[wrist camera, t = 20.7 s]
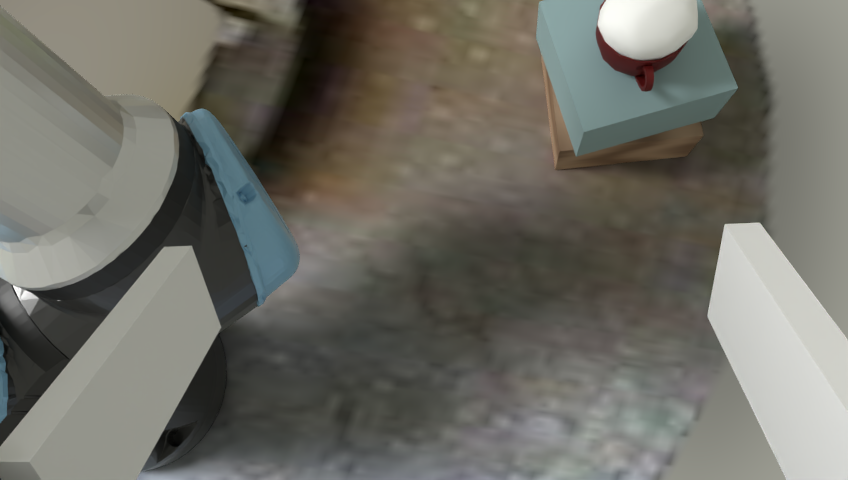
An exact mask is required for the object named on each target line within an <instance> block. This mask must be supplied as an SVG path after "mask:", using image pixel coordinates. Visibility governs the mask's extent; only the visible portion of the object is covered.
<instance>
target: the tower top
mask: <svg viewBox="0 0 848 480" xmlns="http://www.w3.org/2000/svg"><path fill="white" fill-rule="evenodd" d="M603 2H604V0H544V1H540V2H539V10H538V22H537V33H536V39H537V42H538V45H539V48H540V51H541V54H542V57H543V60H544V63H545V66H546V69H547V72H548V75H549V78H550V81H551V83H552V86H553V89H554V92H555V95H556V98H557V101H558V104H559V107H560V110H561V113H562V116H563V119H564V122H565V125H566V128H567V131H568V134H569V137H570V140H571V143H572V146H573V149H574V152H575V155H576V157H577V156H580V155H584V154H587V153H591V152H595V151H598V150H602V149H605V148H609V147H612V146H616V145H619V144H623V143H626V142H630V141H633V140H637V139H640V138H644V137H648V136H651V135H655V134H658V133H662V132H665V131H669V130H672V129H676V128H679V127H683V126H687V125H690V124H694V123H697V122H701V121H704V120H708V119H711V118H715V116H716V115H717V114H718V113H719V111H720V110H721V109H722V108H723V106H724V105H725V104H726V103H727V101H728V100H729V99H730V98H731V96H732V95H733V94H734V93H735V92H736V90H737V89H738V86H737V84H736V81H735V79H734V77H733V74H732V72H731V70H730V67H729V65H728V62H727V60H726V58H725V55H724V53H723V51H722V48H721V46H720V43H719V41H718V39H717V36H716V34H715V32H714V29H713V27H712V24H711V22H710V20H709V17H708V15H707V13H706V10H705V8H704V5H703V3H702V1H701V0H697V9H698V29H697V30H696V32H695V33H694V35H693V36H692V38H690V39H689V40H688V42H687V43H686V45H685V46H684V47H683V49H682V50H681V51H680V53H679V54H678V55H677V57H676V58H675V59H674V60H673V61H672V62H671V63H670V64H668V65H667V66H665V67H663V68H661V69H659V70H658V71H656V72H654V84H653V88H652V90H651V91H647V92H645V91H641V89H640V88H639V86H638V84H637V82H636V79H635V76H630V75H627V74H624V73H621V72H618V71H615V70H614V69H613V68H612V67H611V66H610V65H609V64H608V63H607V62H605V61H604V60H603V58H602V55H601V52H600V50H599V47H598V44H597V40H596V27H597V21H598V15H599V10H600V6H601V4H602V3H603Z"/></svg>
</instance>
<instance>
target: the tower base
mask: <svg viewBox="0 0 848 480" xmlns="http://www.w3.org/2000/svg"><path fill="white" fill-rule="evenodd" d="M541 58H542V66H543V74H544V83H545V91H546V99H547V107H548V115H549V124H550V132H551V140H552V148H553V156H554V165H555V170H560V169H570V168H579V167H589V166H598V165H608V164H618V163H627V162H637V161H646V160H656V159H665V158H675V157H684V156H687V155H688V154H689V153H690V151H691V150H692V149H693V148H694V147H695V145H696V144H697V143H698V142H699V141H700V139H701V138H702V137H703V136H704V135H703V130H702V124H701V122H697V123H694V124H690V125H687V126H683V127H679V128H676V129H672V130H669V131H665V132H662V133H658V134H655V135H651V136H648V137H644V138H640V139H637V140H633V141H630V142H626V143H623V144H619V145H616V146H612V147H609V148H605V149H602V150H598V151H595V152H591V153H587V154H584V155H580V156H577V157H576V155H575V152H574V149H573V146H572V143H571V140H570V137H569V134H568V131H567V128H566V125H565V122H564V119H563V116H562V113H561V110H560V107H559V104H558V101H557V98H556V95H555V92H554V89H553V86H552V83H551V81H550V78H549V75H548V72H547V69H546V66H545V63H544V60H543V57H542V54H541Z"/></svg>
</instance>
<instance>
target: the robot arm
mask: <svg viewBox="0 0 848 480" xmlns="http://www.w3.org/2000/svg"><path fill="white" fill-rule="evenodd" d="M299 259H300V254H299V249H298V246H297V243H296V241H295V239H294V238H293V236H292V234H291V232H290V230H289V228H288V227H287V225H286V223H285V222H284V220H283V218H282V217H281V215H280V213H279V212H278V210H277V208H276V207H275V205H274V203H273V202H272V200H271V199H270V197H269V195H268V194H267V192H266V191H265V189H264V187H263V186H262V184H261V183H260V181H259V180H258V178H257V177H256V175H255V174H254V172H253V170H252V169H251V167H250V166H249V164H248V163H247V161H246V160H245V158H244V157H243V155H242V154H241V152H240V151H239V149H238V148H237V146H236V145H235V144H234V142H233V141H232V139H231V138H230V136H229V135H228V133H227V132H226V131H225V129H224V128H223V127H222V125H221V124H220V122H219V121H218V120H217V119H216V118H215V117H214V116H213V115H212V114H211V113H210V112H209V111H208V110H205V109H198V110H195V111H194V112H192V113H189V112H187V113H184V114H183V116H182V117H180V121H179V122H177V121H176V120H175V119H174V118H173V117H172V116H171V115H170V114H169V113H168V112H166V111H165V110H164V109H163V108H162V107H161V106H159V105H158V104H157V103H156V102H154V101H153V100H151V99H148V98H146V97H142V96H138V95H128V94H121V95H111V96H104V95H102V93H100V92H99V91H98V90H97V89H96V88H95V87H94V86H92V85H91V84H90V83H89V82H88V81H87V80H85V79H84V78H83V77H82V76H81V75H80V74H78V73H77V72H76V71H75V70H74V69H73V68H71V67H70V66H69V65H68V64H67V63H66V62H64V60H62V59H61V58H60V57H59V56H58V55H57V54H55V53H54V52H53V51H52V50H51V49H50V48H48V47H47V46H46V45H45V44H44V43H43V42H42V41H40V40H39V39H38V38H37V37H36V36H35V35H33V34H32V33H31V32H30V31H29V30H28V29H27V28H25V27H24V26H23V25H22V24H21V23H20V22H19V21H17V20H16V19H15V18H14V17H13V16H12V15H10V14H9V13H8V12H7V11H6V10H5V9H4V8H2V7H1V6H0V480H136V479H137V477H138V475H139V474H140V472H143V471H147V470H151V469H155V468H158V467H162V466H164V465H167V464H169V463H171V462H173V461H175V460H177V459H179V458H180V457H182V456H183V455H185V454H186V453H187V452H189V451H190V450H191V449H192V448H193V447H194V446H195V445H196V444H197V443H198V442H199V441H200V440H201V439H202V438H203V437H204V435H205V434H206V433H207V431H208V430H209V428H210V427H211V425H212V424H213V422H214V420H215V418H216V416H217V414H218V412H219V409H220V406H221V403H222V400H223V396H224V392H225V386H226V359H225V354H224V350H223V346H222V343H221V340H220V338H219V336H218V334H219V333H220V332H222V331H223V330H224V329H226V328H227V327H229V326H230V325H231V324H233V323H234V322H236V321H237V320H239V319H240V318H241V317H243V316H244V315H246V314H247V313H248V312H250V311H251V310H253V309H254V308H255V307H257V306H260V305H262V304H263V303H264V302H265V299H266V297H267V296H269V295H270V294H271V293H272V292H273V291H275V290H276V289H277V288H278V287H279V286H281V285H282V284H283V283H284V282H285V281H287V280H288V279H289V278H290V277H291V276H292V275H293V274H294V273H295V271H296V270H297V267H298V265H299ZM707 317H708V319H709V321H710V323H711V325H712V327H713V329H714V331H715V333H716V335H717V338H718V340H719V342H720V344H721V346H722V348H723V350H724V352H725V354H726V356H727V358H728V360H729V362H730V364H731V366H732V368H733V370H734V372H735V375H736V377H737V378H738V381H739V383H740V385H741V387H742V389H743V391H744V393H745V395H746V397H747V399H748V401H749V403H750V405H751V408H752V410H753V412H754V414H755V416H756V418H757V420H758V422H759V424H760V426H761V428H762V430H763V432H764V434H765V436H766V438H767V441H768V442H769V445H770V446H771V449H772V451H773V453H774V455H775V457H776V459H777V461H778V463H779V465H780V467H781V469H782V471H783V473H784V476H785V478H786V480H848V339H847V338H846V337H845V335H844V334H843V333H842V331H841V330H840V329H839V327H838V326H837V325H836V323H835V322H834V321H833V319H832V318H831V317H830V315H829V314H828V313H827V311H826V310H825V309H824V307H823V306H822V305H821V303H820V302H819V301H818V299H817V298H816V297H815V295H814V294H813V293H812V291H811V290H810V289H809V287H808V286H807V285H806V283H805V282H804V281H803V279H802V278H801V277H800V275H799V274H798V273H797V271H796V270H795V269H794V267H793V266H792V265H791V264H790V262H789V261H788V259H787V258H786V257H785V256H784V255H783V253H782V252H781V250H780V249H779V248H778V246H777V245H776V244H775V242H774V241H773V240H772V238H771V237H770V236H769V234H768V233H767V232H766V230H765V229H764V228H763V226H762V225H761V224H760V223H739V224H725V226H724V231H723V236H722V241H721V247H720V252H719V257H718V262H717V268H716V273H715V278H714V283H713V288H712V294H711V299H710V304H709V309H708V315H707Z"/></svg>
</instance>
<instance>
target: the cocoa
mask: <svg viewBox="0 0 848 480" xmlns="http://www.w3.org/2000/svg"><path fill="white" fill-rule="evenodd" d="M697 29H698V9H697V0H604V2H603V3H602V4H601V6H600V10H599V15H598V21H597V27H596V40H597V44H598V47H599V50H600V52H601V55H602V58H603V60H604V61H605V62H607V63H608V64H609V65H610V66H611V67H612V68H613V69H614V70H615V71H618V72H621V73H624V74H627V75H630V76H635V79H636V82H637V84H638V86H639V88H640V89H641V91H645V92H647V91H651V90H652V88H653V84H654V72H656V71H658V70H659V69H661V68H663V67H665V66H667V65H668V64H670V63H671V62H672V61H673V60H674V59H675V58H676V57H677V55H678V54H679V53H680V51H681V50H682V49H683V47H684V46H685V45H686V43H687V42H688V40H689V39H690V38H692V36H693V35H694V33H695V32H696V30H697Z"/></svg>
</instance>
